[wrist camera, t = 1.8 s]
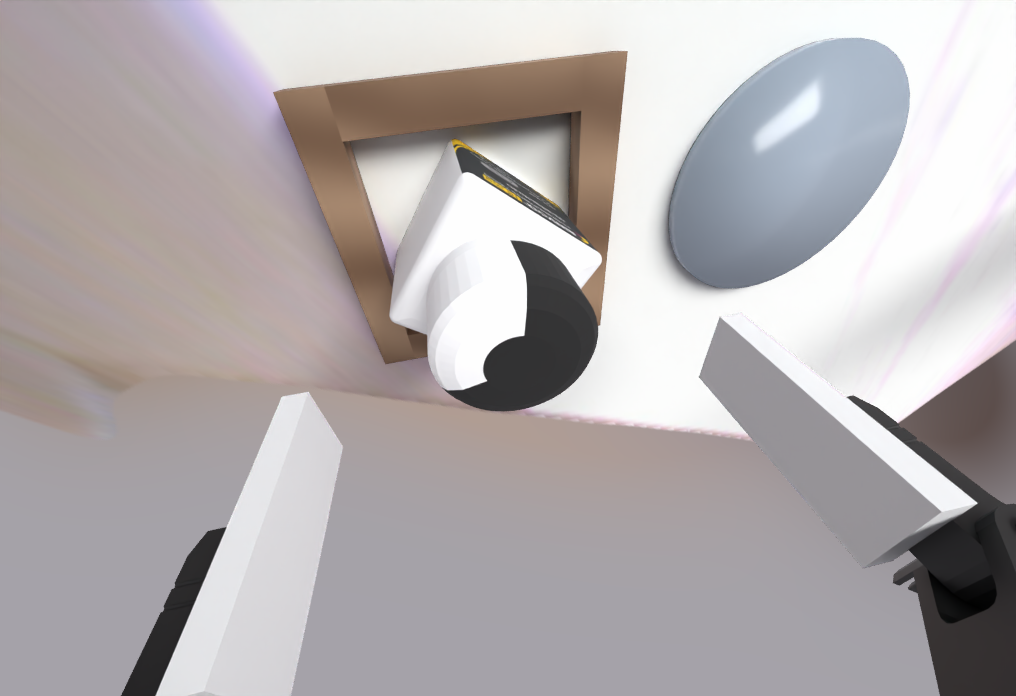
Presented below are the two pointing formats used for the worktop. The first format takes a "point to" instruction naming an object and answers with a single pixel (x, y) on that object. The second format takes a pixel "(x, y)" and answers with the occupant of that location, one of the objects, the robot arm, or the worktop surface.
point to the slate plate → (788, 161)
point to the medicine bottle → (495, 286)
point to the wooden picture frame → (446, 104)
